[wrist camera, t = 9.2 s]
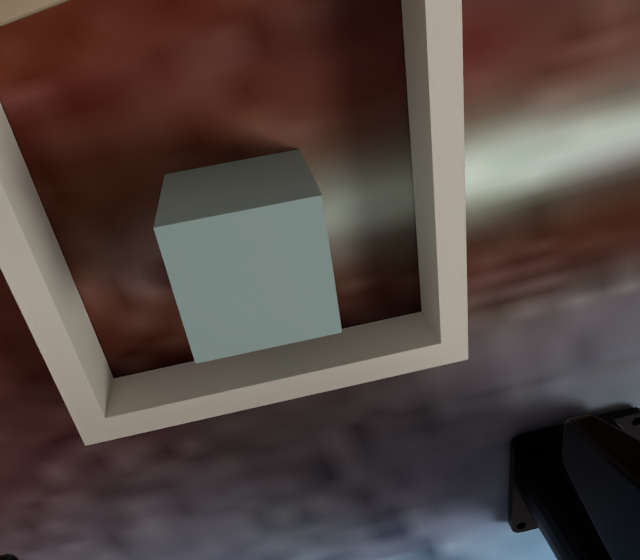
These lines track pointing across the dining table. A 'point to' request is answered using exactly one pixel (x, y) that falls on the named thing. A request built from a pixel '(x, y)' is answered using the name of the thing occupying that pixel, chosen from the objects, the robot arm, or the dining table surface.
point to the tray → (286, 360)
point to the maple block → (23, 9)
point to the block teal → (248, 255)
